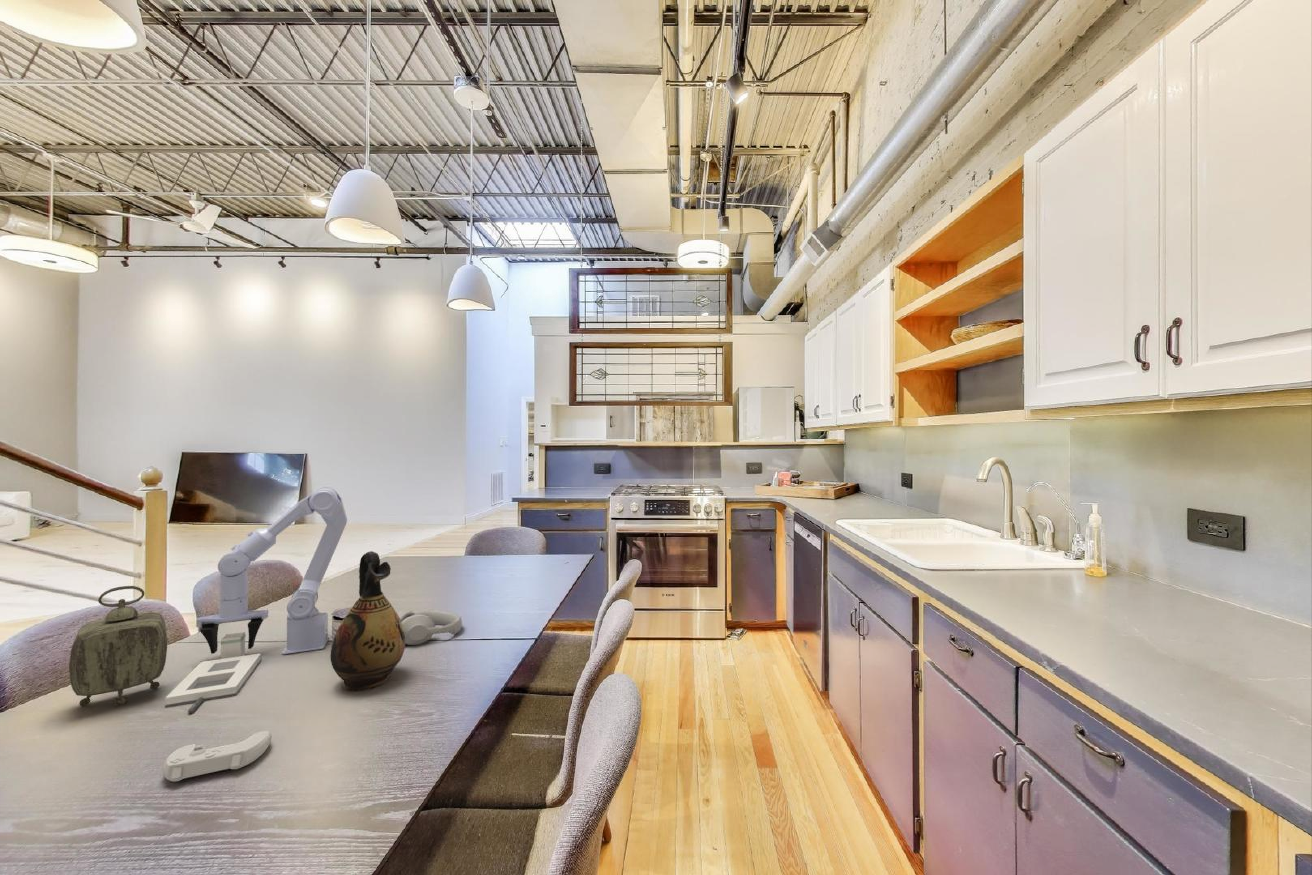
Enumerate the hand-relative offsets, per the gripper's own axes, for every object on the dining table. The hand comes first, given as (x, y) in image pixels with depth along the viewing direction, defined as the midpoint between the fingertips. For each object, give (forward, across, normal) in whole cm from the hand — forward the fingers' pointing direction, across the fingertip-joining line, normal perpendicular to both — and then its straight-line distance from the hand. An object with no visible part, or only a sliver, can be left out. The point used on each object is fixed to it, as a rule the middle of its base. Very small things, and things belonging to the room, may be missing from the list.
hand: (232, 649), depth 133 cm
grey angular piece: (+2, -29, +11) cm, 31 cm away
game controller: (+3, -12, +55) cm, 56 cm away
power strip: (+2, -1, +18) cm, 18 cm away
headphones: (+3, -46, +3) cm, 46 cm away
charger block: (+2, 0, 0) cm, 2 cm away
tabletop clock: (+3, +15, +18) cm, 23 cm away
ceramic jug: (+2, -33, +29) cm, 44 cm away
